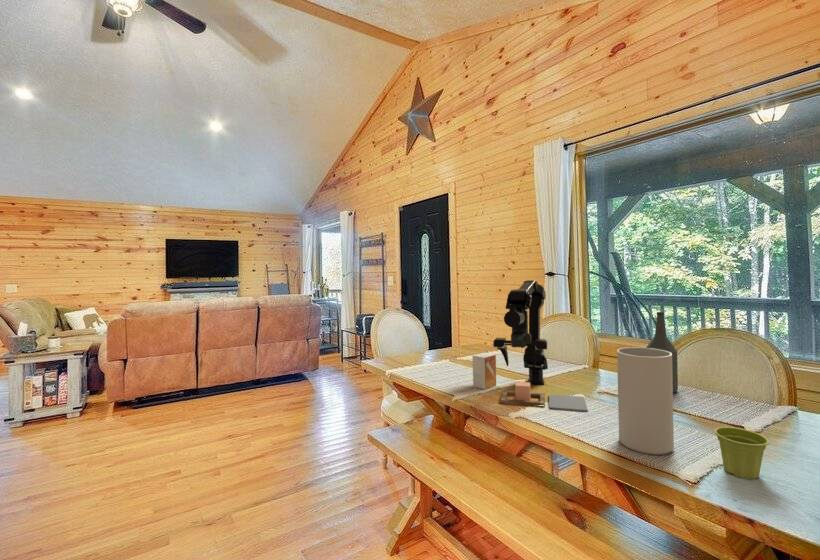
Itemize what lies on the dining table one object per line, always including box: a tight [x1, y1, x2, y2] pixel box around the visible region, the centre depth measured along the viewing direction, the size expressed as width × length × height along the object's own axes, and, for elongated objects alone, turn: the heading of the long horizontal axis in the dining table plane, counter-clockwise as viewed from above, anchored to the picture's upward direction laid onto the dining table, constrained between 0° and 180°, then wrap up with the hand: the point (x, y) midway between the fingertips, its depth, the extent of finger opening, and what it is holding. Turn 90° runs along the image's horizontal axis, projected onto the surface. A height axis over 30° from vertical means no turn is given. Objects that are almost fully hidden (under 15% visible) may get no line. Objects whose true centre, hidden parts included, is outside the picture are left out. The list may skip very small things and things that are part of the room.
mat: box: [548, 394, 589, 413], centre depth 137 cm, size 14×12×1 cm
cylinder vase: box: [616, 347, 675, 455], centre depth 103 cm, size 12×12×25 cm
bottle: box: [645, 311, 679, 393], centre depth 148 cm, size 10×10×30 cm
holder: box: [500, 390, 546, 407], centre depth 142 cm, size 11×15×1 cm
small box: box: [472, 352, 497, 390], centre depth 160 cm, size 8×6×13 cm
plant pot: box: [714, 426, 770, 480], centre depth 88 cm, size 9×9×9 cm
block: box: [514, 381, 532, 401], centre depth 142 cm, size 5×5×6 cm
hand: (520, 366), depth 141 cm, fingers open, 9 cm apart
